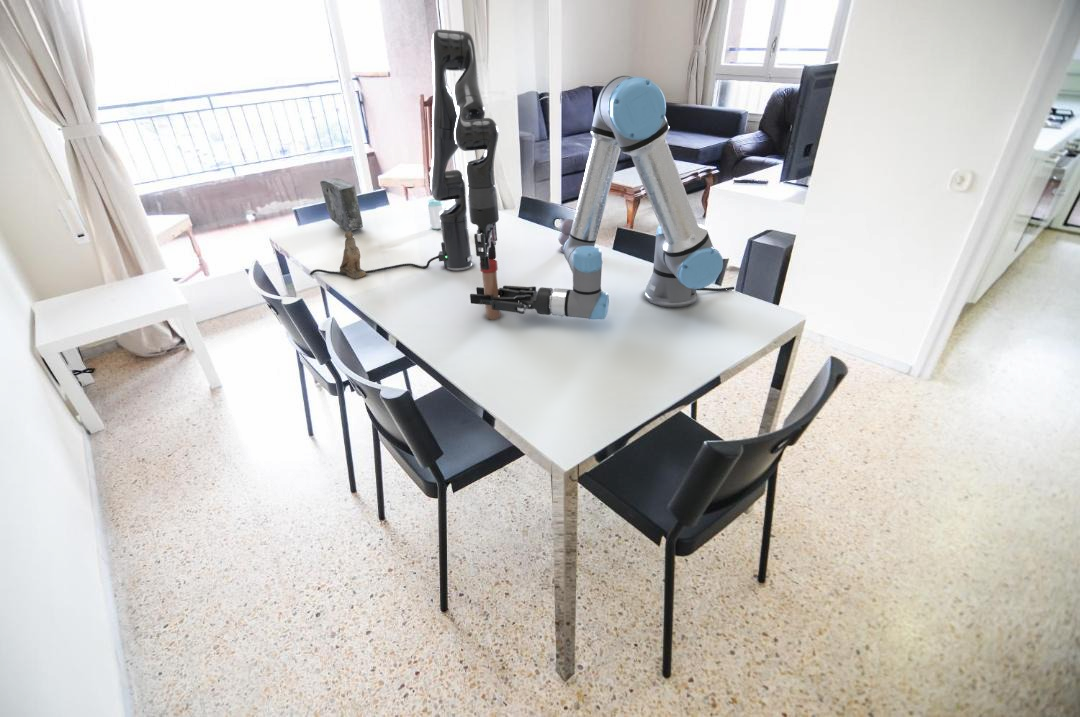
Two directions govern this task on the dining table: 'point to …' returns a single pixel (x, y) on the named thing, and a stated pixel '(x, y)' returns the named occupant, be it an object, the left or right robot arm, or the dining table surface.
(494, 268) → the lid
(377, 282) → the dining table surface
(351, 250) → the brown carved statuette
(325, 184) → the concrete block
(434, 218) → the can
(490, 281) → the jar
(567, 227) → the mauve bulbous figurine
